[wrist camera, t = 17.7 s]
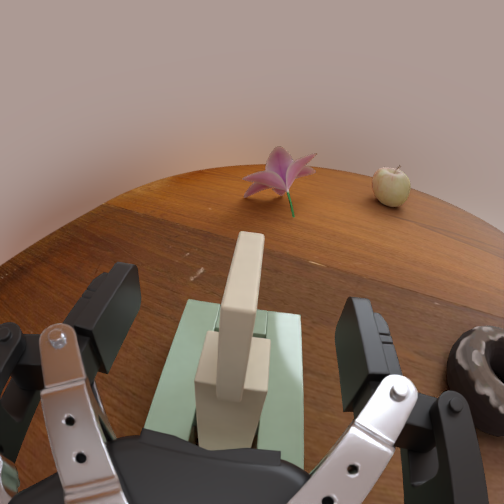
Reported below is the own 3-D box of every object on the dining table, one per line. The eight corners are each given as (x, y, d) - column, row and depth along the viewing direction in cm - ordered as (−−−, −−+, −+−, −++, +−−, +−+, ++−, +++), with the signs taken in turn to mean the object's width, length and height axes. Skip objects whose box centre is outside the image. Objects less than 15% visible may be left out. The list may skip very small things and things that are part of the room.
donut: (455, 455, 15) (488, 428, 13) (425, 343, 25) (444, 312, 23) (539, 433, 14) (567, 407, 12) (504, 347, 24) (523, 320, 22)
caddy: (121, 579, 7) (100, 581, 6) (189, 331, 24) (188, 298, 22) (280, 604, 7) (296, 613, 5) (291, 345, 24) (300, 314, 22)
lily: (321, 208, 51) (308, 151, 50) (339, 209, 39) (323, 137, 38) (250, 223, 52) (237, 166, 50) (248, 229, 40) (231, 156, 38)
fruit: (407, 205, 56) (418, 168, 52) (400, 215, 51) (413, 173, 46) (373, 192, 59) (382, 155, 55) (362, 200, 54) (372, 159, 50)
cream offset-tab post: (199, 477, 14) (183, 301, 7) (208, 428, 17) (214, 226, 10) (241, 484, 14) (293, 317, 7) (246, 433, 17) (290, 236, 10)
